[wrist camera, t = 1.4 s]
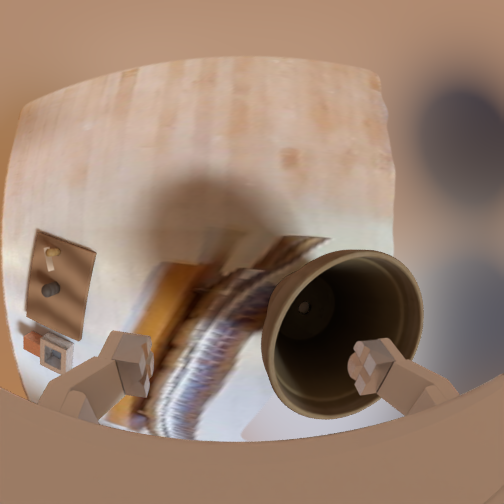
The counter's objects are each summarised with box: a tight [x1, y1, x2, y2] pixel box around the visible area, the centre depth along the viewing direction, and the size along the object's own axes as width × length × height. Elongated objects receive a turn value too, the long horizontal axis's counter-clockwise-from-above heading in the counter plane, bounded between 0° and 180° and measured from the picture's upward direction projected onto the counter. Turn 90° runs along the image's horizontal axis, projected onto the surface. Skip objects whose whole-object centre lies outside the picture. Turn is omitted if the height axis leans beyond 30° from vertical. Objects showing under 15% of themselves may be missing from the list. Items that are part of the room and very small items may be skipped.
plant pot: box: [261, 250, 424, 419], centre depth 42 cm, size 25×25×22 cm
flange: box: [24, 331, 74, 375], centre depth 41 cm, size 11×6×4 cm, turn 73°
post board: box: [26, 233, 96, 341], centre depth 40 cm, size 18×14×6 cm
